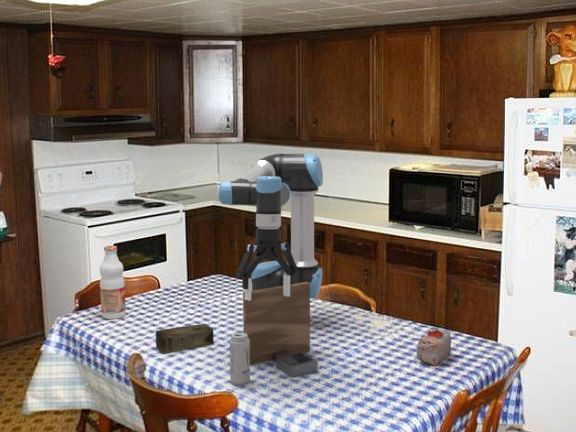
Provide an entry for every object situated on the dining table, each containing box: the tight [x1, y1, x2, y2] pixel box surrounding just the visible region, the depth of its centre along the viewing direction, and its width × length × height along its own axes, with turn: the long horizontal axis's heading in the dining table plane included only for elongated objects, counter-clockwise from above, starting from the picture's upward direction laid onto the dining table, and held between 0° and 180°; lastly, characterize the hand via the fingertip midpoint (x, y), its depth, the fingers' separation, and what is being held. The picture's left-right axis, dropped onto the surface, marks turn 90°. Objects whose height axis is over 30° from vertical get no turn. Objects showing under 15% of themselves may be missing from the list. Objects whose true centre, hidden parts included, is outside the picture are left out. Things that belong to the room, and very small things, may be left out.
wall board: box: [242, 282, 311, 366], centre depth 230 cm, size 2×24×24 cm, turn 121°
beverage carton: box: [155, 323, 215, 354], centre depth 243 cm, size 8×19×7 cm, turn 118°
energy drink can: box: [229, 332, 251, 387], centre depth 210 cm, size 6×6×15 cm
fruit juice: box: [99, 245, 127, 320], centre depth 275 cm, size 9×9×28 cm
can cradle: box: [272, 350, 319, 378], centre depth 224 cm, size 16×10×4 cm, turn 31°
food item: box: [416, 329, 452, 366], centre depth 229 cm, size 14×8×10 cm, turn 147°
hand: (267, 297), depth 211 cm, fingers open, 13 cm apart
